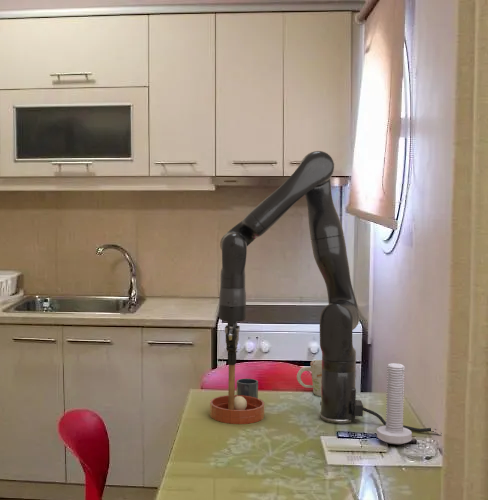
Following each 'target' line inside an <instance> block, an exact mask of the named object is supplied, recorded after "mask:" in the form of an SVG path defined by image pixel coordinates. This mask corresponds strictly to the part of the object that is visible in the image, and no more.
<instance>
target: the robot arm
mask: <svg viewBox="0 0 488 500" xmlns="http://www.w3.org/2000/svg"><path fill="white" fill-rule="evenodd" d="M334 171H335V161H334V159H333V157H332V156H331V155H330V154H329V153H328V152H326V151H322V150H314V151H311V152H309V153H308V154H306V155H305V156H304V157H303V158H302V160H301V161H300V162H299V165H298V167H297V168H296V169H295V171H294V172H293V173H292V174H291V175H290V176H288V178H287V179H286V180H285V181H284V182H283V183H282V184H281V185H280V186H279V187H278V188H277V189H275V190H274V191H273V192H272V193H271V194H269V195H268V196H267V197H266V198H265V199H263V200H262V201H261V202H260V203H259V204H258V205H256V207H254V208H253V209H252V210H251V211H250V212H249V213H248V214H247V215H246V216H245V217H243V219H242V220H241V221H240V222H238V223H237V224H235V225H234V226H232V228H230V229H229V230H228V231H227V232H226V233H225V234H224V235H223V236H222V237H221V239H220V242H219V247H220V250H221V269H220V281H219V282H220V283H219V284H220V285H219V286H220V288H219V299H218V301H219V302H218V306H219V307H218V310H219V311H218V319H219V320H220V321H223V322H227V324H226V325H225V326H224V333H225V344H226V348H225V350H226V352H227V365H228V366H229V365H235V366H236V363H237V350H238V345H239V340H240V331H241V329H240V328H241V327H240V325H238V322H244V321H245V320H246V319H247V292H246V266H247V265H246V263H247V254H248V249H247V248H248V246H250V244H252V242H254V241H255V239H257V238H260V237H262V236H263V235H264V234H266V232H267V231H269V230H270V229H271V228H272V227H274V225H275V224H276V223H278V222H279V221H280V219H281V218H283V216H284V215H285V214H286V213H287V212H288V211H289V210H290V209H291V208H292V207H293V206H294V205H295V204H296V203H297V202H298V201H299V200H301V198H303V197H304V196H305V201H306V206H307V217H308V218H307V219H308V227H309V228H308V229H309V235H310V236H309V237H310V243H311V248H312V254H313V259H314V261H315V263H316V266H317V268H318V270H319V272H320V275H321V276H322V278H323V281H324V283H325V286H326V292H327V301H328V304H326V306H324V308H322V309H321V312H320V315H319V347H320V351H321V360H322V385H321V396H320V402H319V403H320V404H319V405H320V419H321V420H322V421H324V422H327V423H330V424H340V425H343V424H351V423H352V424H353V423H356V417H363V416H364V412H366V413H367V414H371V415H373V416H374V417H376V418H377V419H379V421H380V422H381V423H382V424H383V426H387V425H386V421H387V420H386V419H384V418H383V417H382V416H381V415H380V414H379V413H378V412H376V411H374V410H371V409H369V408H366V407H364V404H363V401H362V400H360V399H357V388H356V371H357V370H356V365H357V361H356V359H357V350H356V349H355V347H354V345H353V331H354V330H356V328H357V326H358V325H359V323H360V315H361V313H360V309H359V306H358V302H357V299H356V295H355V292H354V289H353V284H352V280H351V273H350V272H351V271H350V264H349V258H348V252H347V251H348V250H347V246H346V245H347V244H346V239H345V233H344V229H343V225H342V223H341V219H340V216H339V214H338V212H337V210H336V207H335V203H334V200H333V193H332V185H331V184H332V183H331V178H332V176H333V174H334ZM402 425H403V427H404V428H407V429H409V430H410V431H411V432H417V433H427V432H428V433H429V432H431V433H432V432H433V433H435V432H434V431H431V428H432V427H425V428H420V427H419V428H418V427H413V426H409V425H406V424H405V425H404V424H402Z"/></svg>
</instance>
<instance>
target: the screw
mask: <svg viewBox="0 0 488 500" xmlns="http://www.w3.org/2000/svg"><path fill="white" fill-rule="evenodd" d="M386 369H387V372H386V376H387V377H386V378H387V379H386V402H385V403H386V404H385V408H386V409H385V410H386V411H385V413H386V414H385V415H386V416H385V421H386V425H387V426H386V425H381V426H378V427H377V428H376V438H377V439H379V440H381V441H383V442H385V443H387V444H389V445H396V446H397V445H398V446H399V445H403V444H407V443H410V442H411V441H412V439H413V436H412V435H413V431H411V430H409V429H407V428H404V427H403V425H404V407H405V405H404V404H405V403H404V400H405V398H404V397H405V393H404V392H405V370H406V368H405V365H404V364H401V363H398V362H397V363H396V362H395V363H394V362H391V363H388V364H387V367H386Z"/></svg>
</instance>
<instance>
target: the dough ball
mask: <svg viewBox="0 0 488 500" xmlns="http://www.w3.org/2000/svg"><path fill="white" fill-rule="evenodd" d="M246 407H247V401H246V399H245V398H244V397H242V396H237V397H235V410H245V409H246Z"/></svg>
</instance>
